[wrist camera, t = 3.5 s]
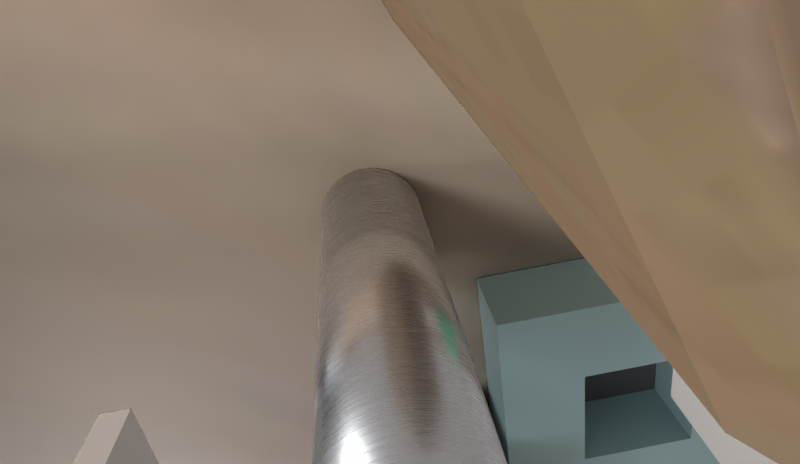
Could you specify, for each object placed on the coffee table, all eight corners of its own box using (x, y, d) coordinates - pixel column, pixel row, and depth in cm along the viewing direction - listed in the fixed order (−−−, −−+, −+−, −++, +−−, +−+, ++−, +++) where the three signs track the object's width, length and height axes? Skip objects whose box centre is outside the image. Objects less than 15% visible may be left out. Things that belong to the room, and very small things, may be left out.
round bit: (333, 265, 24) (333, 609, 12) (312, 178, 22) (286, 477, 10) (426, 247, 24) (525, 570, 12) (412, 159, 22) (514, 431, 10)
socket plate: (496, 464, 31) (514, 523, 27) (476, 278, 25) (496, 325, 22) (711, 421, 31) (753, 475, 28) (739, 229, 25) (795, 268, 22)
